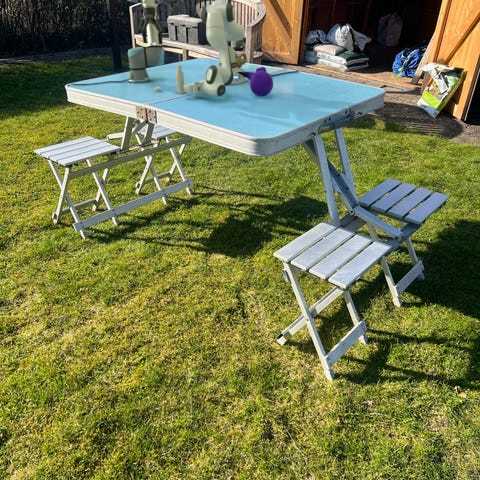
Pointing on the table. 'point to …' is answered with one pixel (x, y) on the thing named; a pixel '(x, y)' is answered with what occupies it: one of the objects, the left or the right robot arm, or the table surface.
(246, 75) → the toy
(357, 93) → the table surface
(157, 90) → the cap
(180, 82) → the bottle
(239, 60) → the teapot
